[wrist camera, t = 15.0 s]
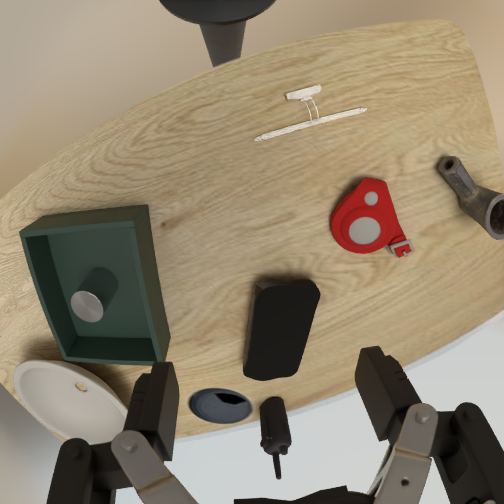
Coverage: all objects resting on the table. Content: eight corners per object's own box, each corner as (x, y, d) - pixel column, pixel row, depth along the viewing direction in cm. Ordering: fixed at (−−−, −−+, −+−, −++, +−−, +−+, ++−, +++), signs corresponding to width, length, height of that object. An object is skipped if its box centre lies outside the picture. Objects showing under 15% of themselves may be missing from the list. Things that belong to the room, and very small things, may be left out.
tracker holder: (324, 256, 38) (340, 182, 32) (324, 236, 42) (338, 168, 36) (413, 269, 37) (439, 202, 31) (406, 250, 40) (428, 186, 34)
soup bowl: (11, 326, 41) (-7, 348, 35) (130, 345, 44) (120, 375, 38) (50, 412, 51) (40, 434, 45) (151, 432, 53) (146, 458, 47)
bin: (42, 215, 35) (18, 231, 29) (148, 204, 35) (133, 220, 30) (77, 335, 43) (64, 360, 37) (170, 337, 43) (164, 366, 38)
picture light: (254, 143, 34) (255, 144, 32) (241, 107, 32) (242, 106, 30) (366, 111, 33) (374, 111, 31) (356, 77, 31) (363, 75, 29)
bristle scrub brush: (254, 269, 40) (256, 284, 36) (318, 275, 41) (325, 289, 37) (240, 363, 46) (241, 380, 43) (293, 365, 47) (297, 382, 44)
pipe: (447, 145, 34) (485, 154, 27) (488, 200, 38) (522, 217, 31) (424, 179, 36) (461, 194, 29) (469, 230, 40) (501, 251, 32)
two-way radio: (270, 414, 52) (280, 484, 38) (249, 408, 51) (255, 480, 37) (287, 397, 50) (301, 470, 36) (265, 391, 49) (276, 466, 35)
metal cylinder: (85, 268, 37) (66, 291, 32) (114, 267, 37) (97, 290, 32) (92, 297, 39) (76, 322, 33) (121, 296, 39) (107, 322, 34)
